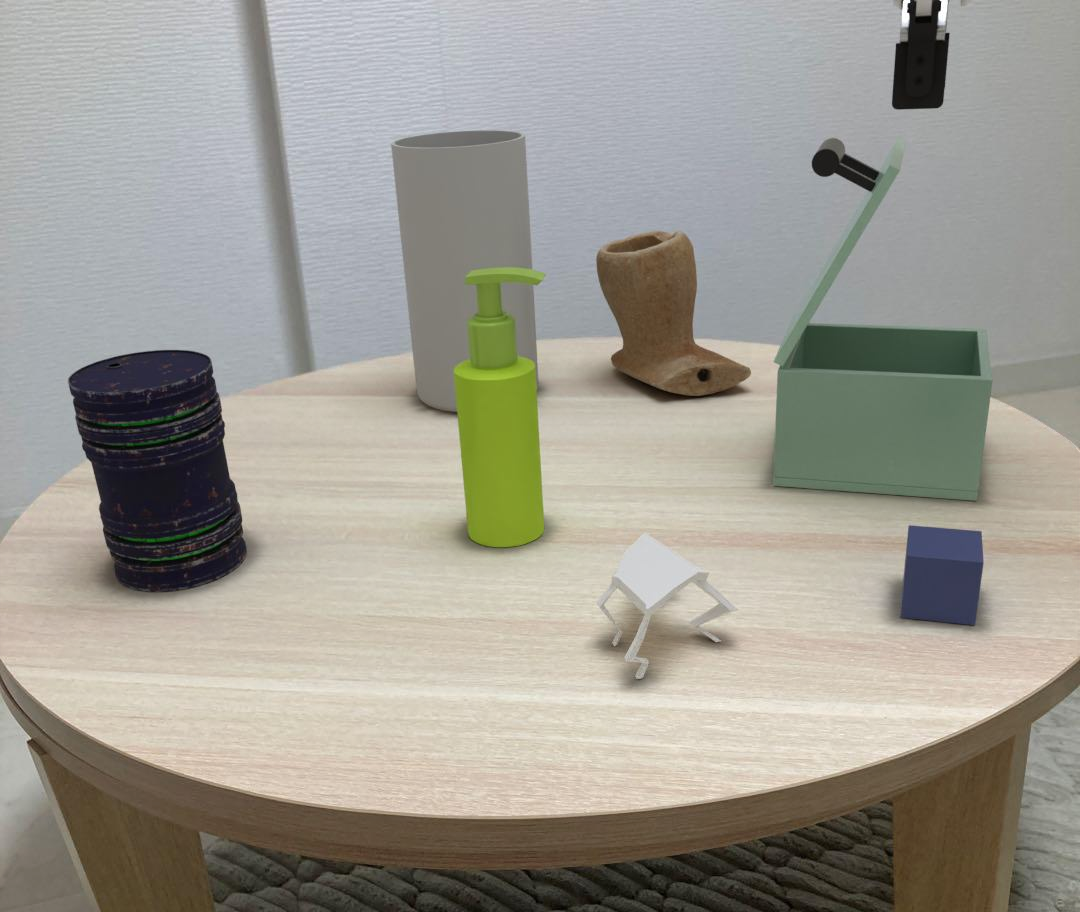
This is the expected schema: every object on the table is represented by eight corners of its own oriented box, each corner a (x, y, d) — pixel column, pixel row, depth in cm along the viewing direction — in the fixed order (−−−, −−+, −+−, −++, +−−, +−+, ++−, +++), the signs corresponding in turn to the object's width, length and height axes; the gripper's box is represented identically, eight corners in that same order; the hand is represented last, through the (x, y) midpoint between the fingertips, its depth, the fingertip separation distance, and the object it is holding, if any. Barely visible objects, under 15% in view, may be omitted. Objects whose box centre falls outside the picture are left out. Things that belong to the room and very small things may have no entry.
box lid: (905, 143, 91) (841, 109, 91) (900, 170, 79) (826, 131, 80) (801, 319, 99) (742, 288, 100) (782, 366, 88) (716, 331, 88)
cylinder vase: (484, 368, 125) (466, 127, 114) (564, 390, 117) (552, 134, 106) (393, 397, 117) (364, 143, 106) (471, 424, 109) (448, 151, 98)
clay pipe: (582, 371, 122) (576, 229, 115) (679, 353, 126) (680, 215, 119) (647, 413, 109) (645, 256, 103) (753, 392, 113) (758, 239, 107)
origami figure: (754, 668, 68) (756, 596, 66) (619, 689, 67) (617, 617, 65) (691, 578, 79) (691, 513, 77) (574, 595, 78) (571, 530, 76)
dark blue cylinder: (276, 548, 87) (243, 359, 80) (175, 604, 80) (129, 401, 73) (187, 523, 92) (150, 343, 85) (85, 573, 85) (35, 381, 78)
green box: (973, 438, 99) (986, 328, 95) (977, 501, 88) (992, 379, 84) (791, 427, 104) (796, 322, 100) (772, 486, 92) (777, 370, 88)
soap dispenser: (551, 548, 84) (537, 279, 75) (460, 546, 85) (435, 281, 77) (562, 515, 89) (550, 259, 81) (476, 513, 91) (455, 261, 82)
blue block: (973, 591, 75) (981, 530, 73) (975, 625, 72) (983, 562, 70) (902, 585, 77) (908, 524, 75) (900, 618, 73) (906, 555, 71)
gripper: (1011, -216, 63) (978, 113, 70) (1001, -183, 77) (975, 87, 85) (870, -201, 65) (853, 117, 73) (887, -171, 80) (871, 90, 87)
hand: (919, 100), depth 79 cm, fingers open, 9 cm apart
